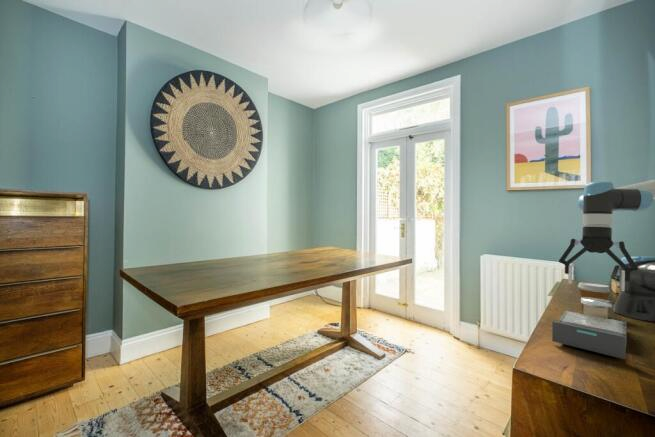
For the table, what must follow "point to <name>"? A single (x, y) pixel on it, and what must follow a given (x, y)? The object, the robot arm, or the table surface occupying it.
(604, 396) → the table surface
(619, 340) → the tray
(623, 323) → the box
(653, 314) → the robot arm
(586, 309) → the oak block
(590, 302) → the disc
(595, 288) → the disposable coffee cup
